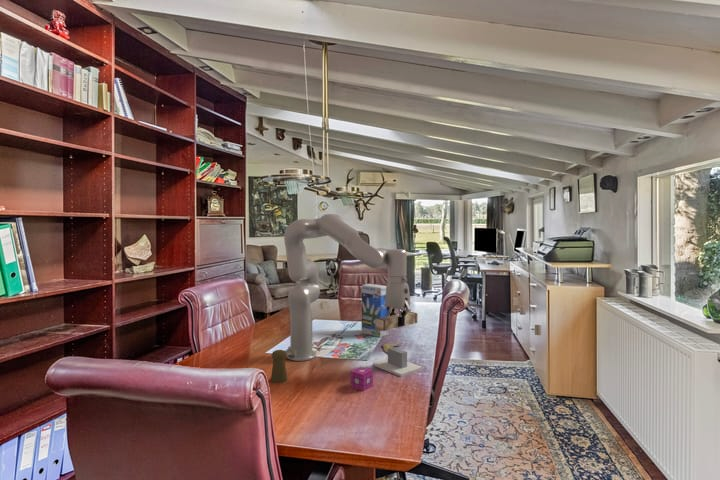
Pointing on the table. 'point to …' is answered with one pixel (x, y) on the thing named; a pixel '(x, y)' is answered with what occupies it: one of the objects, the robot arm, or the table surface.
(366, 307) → the string lights box
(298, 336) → the robot arm
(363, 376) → the puzzle toy
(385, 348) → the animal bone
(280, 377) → the cork
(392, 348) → the ridge block
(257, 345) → the table surface
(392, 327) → the beech bar
